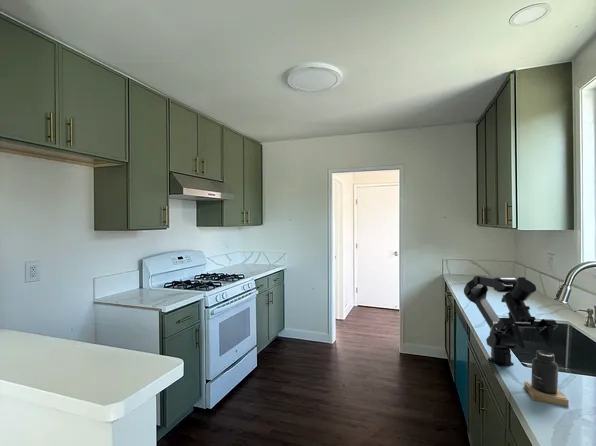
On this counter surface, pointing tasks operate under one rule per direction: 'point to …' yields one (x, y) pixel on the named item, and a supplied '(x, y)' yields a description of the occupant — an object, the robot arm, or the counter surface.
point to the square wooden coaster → (546, 396)
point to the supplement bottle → (544, 372)
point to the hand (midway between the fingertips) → (537, 349)
